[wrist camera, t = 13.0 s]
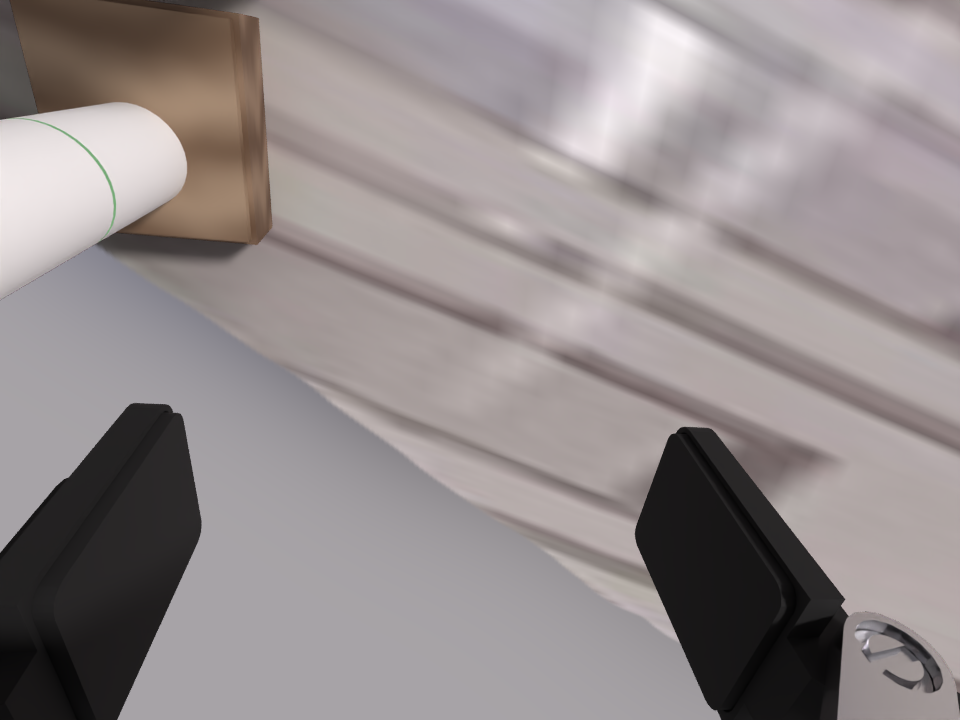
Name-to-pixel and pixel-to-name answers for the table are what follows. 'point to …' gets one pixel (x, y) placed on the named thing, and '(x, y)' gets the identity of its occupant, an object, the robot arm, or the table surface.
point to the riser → (166, 98)
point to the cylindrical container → (79, 182)
